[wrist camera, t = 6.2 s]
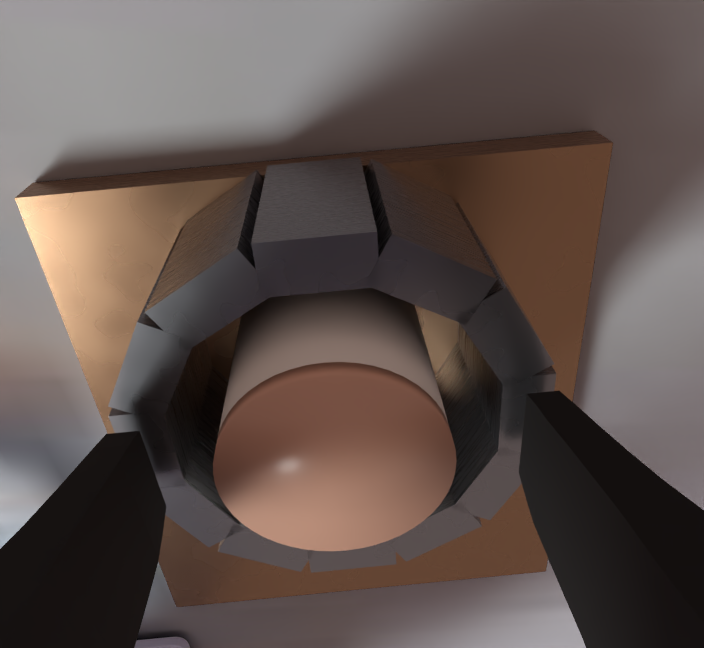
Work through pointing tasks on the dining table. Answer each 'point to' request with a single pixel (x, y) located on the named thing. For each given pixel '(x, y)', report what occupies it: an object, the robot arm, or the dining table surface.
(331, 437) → the cylindrical peg
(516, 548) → the peg hole base
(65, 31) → the dining table surface
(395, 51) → the dining table surface
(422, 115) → the dining table surface
